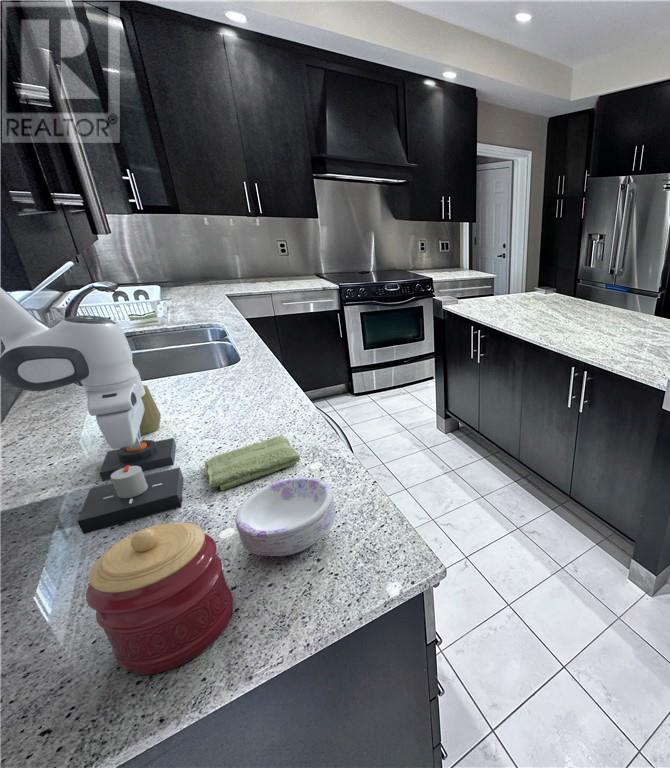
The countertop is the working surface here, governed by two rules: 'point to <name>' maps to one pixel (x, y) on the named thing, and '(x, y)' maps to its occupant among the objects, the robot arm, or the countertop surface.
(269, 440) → the washcloth
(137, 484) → the timer dial
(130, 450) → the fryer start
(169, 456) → the button block
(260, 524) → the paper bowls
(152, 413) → the squeeze bottle
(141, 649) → the kitchen canister
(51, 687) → the countertop surface
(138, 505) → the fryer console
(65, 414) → the countertop surface
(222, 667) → the countertop surface
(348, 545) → the countertop surface
